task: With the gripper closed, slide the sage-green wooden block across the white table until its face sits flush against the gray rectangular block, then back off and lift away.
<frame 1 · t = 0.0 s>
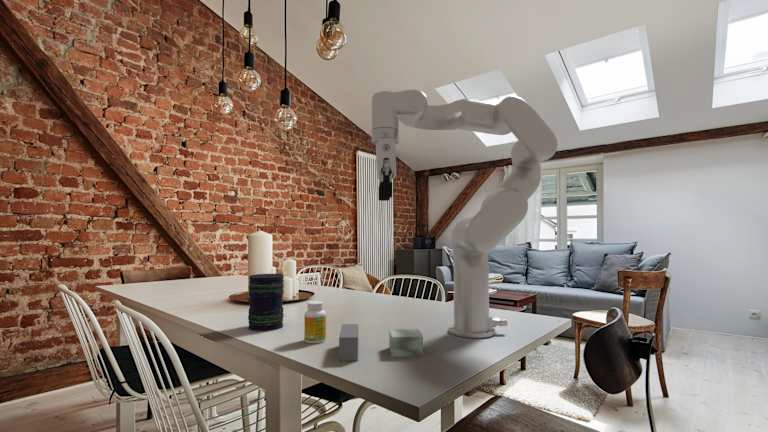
hand: (385, 199, 107), 37 cm above the table, tool pointing down, fingers open, 9 cm apart
supplement bottle: (315, 341, 99), on the table
storage jar: (265, 327, 113), on the table
sage block: (405, 352, 90), on the table
gray rectangular block: (349, 352, 89), on the table
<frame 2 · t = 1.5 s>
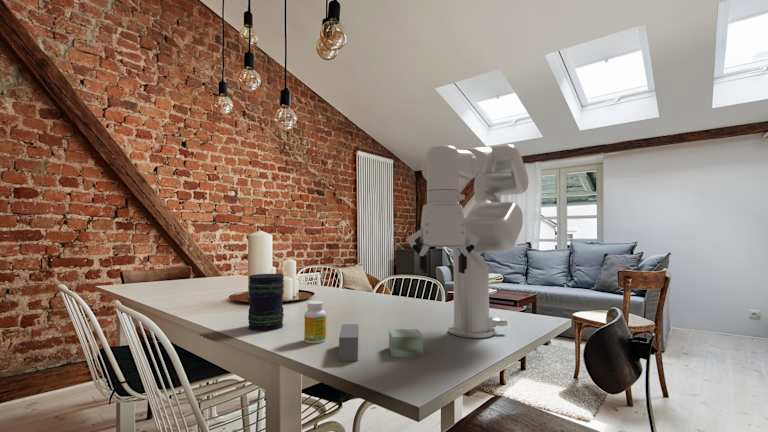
hand: (443, 272, 91), 18 cm above the table, tool pointing down, fingers open, 8 cm apart
nothing on the table moved.
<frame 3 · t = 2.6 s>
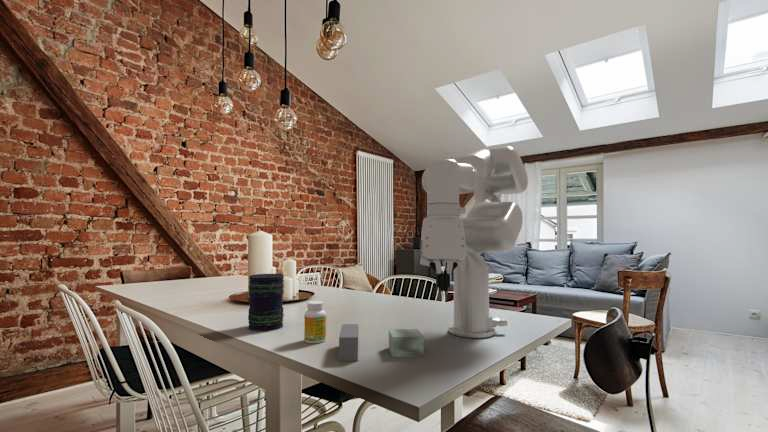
hand: (443, 290, 91), 14 cm above the table, tool pointing down, fingers closed
nothing on the table moved.
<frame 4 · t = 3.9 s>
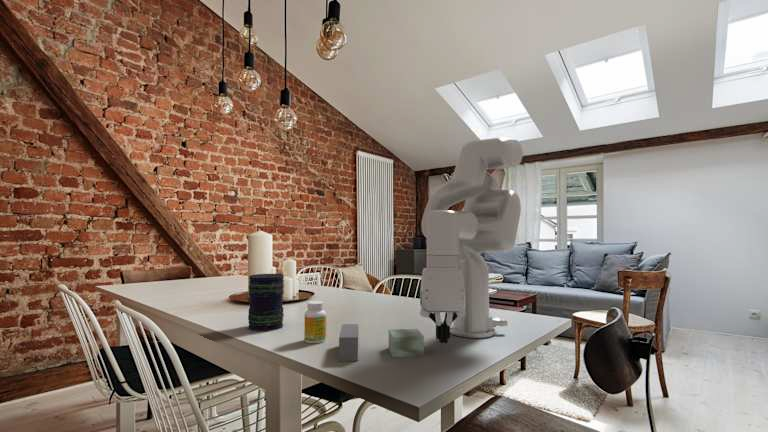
hand: (442, 341, 91), 2 cm above the table, tool pointing down, fingers closed
nothing on the table moved.
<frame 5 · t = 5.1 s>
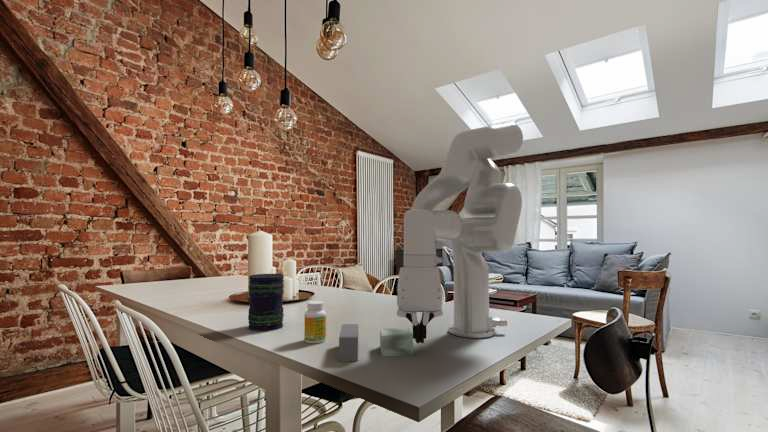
hand: (419, 341, 90), 2 cm above the table, tool pointing down, fingers closed
sage block: (395, 351, 91), on the table, touching gripper
everything else where it was.
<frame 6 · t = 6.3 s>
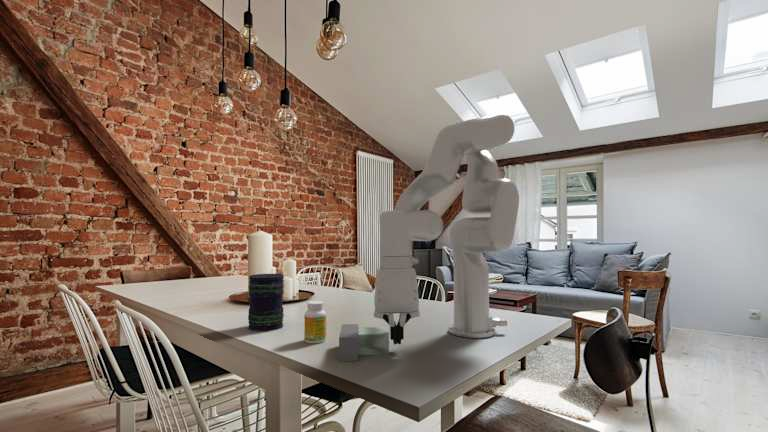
hand: (396, 342, 90), 2 cm above the table, tool pointing down, fingers closed
sage block: (373, 350, 92), on the table, touching gray rectangular block, gripper
everything else where it was.
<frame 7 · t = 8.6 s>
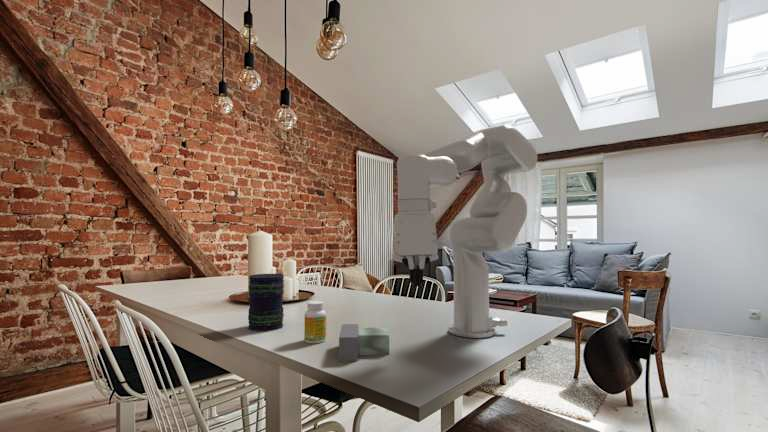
hand: (416, 285, 92), 15 cm above the table, tool pointing down, fingers closed
sage block: (373, 350, 92), on the table
everything else where it was.
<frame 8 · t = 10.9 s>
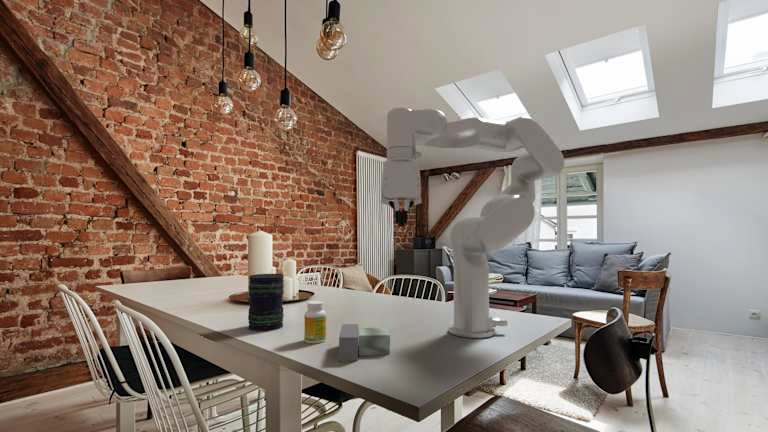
hand: (401, 226, 101), 29 cm above the table, tool pointing down, fingers closed
nothing on the table moved.
at the end: sage block 1.7 cm from the target spot on the table beside the gray rectangular block, on the table; sage block tilted 0°; sage block moved 7.6 cm from its start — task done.
